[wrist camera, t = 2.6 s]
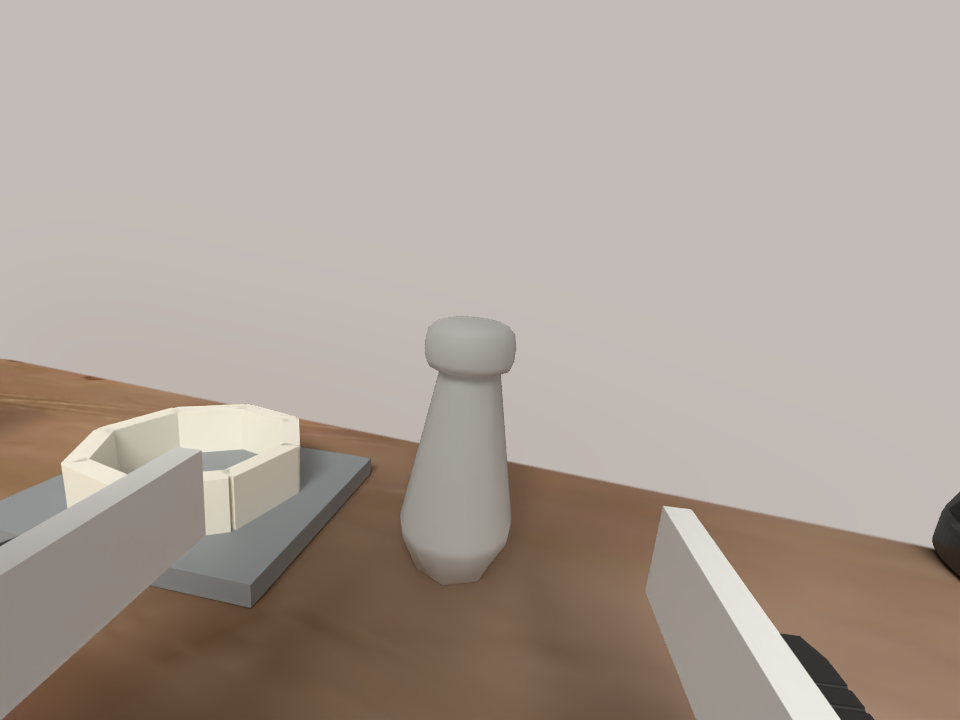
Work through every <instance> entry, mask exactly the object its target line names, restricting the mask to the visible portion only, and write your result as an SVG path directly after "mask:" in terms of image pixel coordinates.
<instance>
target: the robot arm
mask: <svg viewBox="0 0 960 720" xmlns="http://www.w3.org/2000/svg"><path fill="white" fill-rule="evenodd" d="M205 535H206V528H205V507H204V486H203V465H202V450H197V449H189V448H181V447H175V448H173V449H172V450H170V451H168V452H166V453H165V454H163V455H161V456H159V457H158V458H156V459H154V460H152V461H150V462H149V463H147V464H145V465H143V466H142V467H140V468H138V469H136V470H135V471H133V472H131V473H129V474H127V475H126V476H124V477H122V478H120V479H119V480H117V481H115V482H113V483H112V484H110V485H108V486H106V487H104V488H103V489H101V490H99V491H97V492H96V493H94V494H92V495H90V496H89V497H87V498H85V499H83V500H81V501H80V502H78V503H76V504H74V505H73V506H71V507H69V508H67V509H65V510H64V511H62V512H60V513H58V514H57V515H55V516H53V517H51V518H50V519H48V520H46V521H44V522H42V523H41V524H39V525H37V526H35V527H34V528H32V529H30V530H28V531H27V532H25V533H23V534H21V535H19V536H17V537H14V538H12V539H9V540H6V541H4V542H1V543H0V720H2V719H3V718H4V717H5V716H6V715H7V714H8V713H9V712H10V711H12V710H13V709H14V708H15V707H16V706H17V705H18V704H19V703H20V702H21V701H23V700H24V699H25V698H26V697H27V696H28V695H29V694H30V693H31V692H33V691H34V690H35V689H36V688H37V687H38V686H39V685H40V684H41V683H42V682H44V681H45V680H46V679H47V678H48V677H49V676H50V675H51V674H52V673H54V672H55V671H56V670H57V669H58V668H59V667H60V666H61V665H62V664H63V663H65V662H66V661H67V660H68V659H69V658H70V657H71V656H72V655H73V654H74V653H76V652H77V651H78V650H79V649H80V648H81V647H82V646H83V645H84V644H86V643H87V642H88V641H89V640H90V639H91V638H92V637H93V636H94V635H95V634H97V633H98V632H99V631H100V630H101V629H102V628H103V627H104V626H105V625H107V624H108V623H109V622H110V621H111V620H112V619H113V618H114V617H115V616H116V615H118V614H119V613H120V612H121V611H122V610H123V609H124V608H125V607H126V606H127V605H129V604H130V603H131V602H132V601H133V600H134V599H135V598H136V597H137V596H139V595H140V594H141V593H142V592H143V591H144V590H145V589H146V588H147V587H148V586H150V585H151V584H152V583H153V582H154V581H155V580H156V579H157V578H158V577H160V576H161V575H162V574H163V573H164V572H165V571H166V570H167V569H168V568H169V567H171V566H172V565H173V564H174V563H175V562H176V561H177V560H178V559H179V558H180V557H182V556H183V555H184V554H185V553H186V552H187V551H188V550H189V549H190V548H192V547H193V546H194V545H195V544H196V543H197V542H198V541H199V540H200V539H201V538H203V537H204V536H205ZM932 542H933V546H934V548H935V550H936V551H937V553H938V555H939V556H940V557H941V558H942V560H943V561H944V562H945V563H946V564H947V565H948V566H949V567H950V568H951V569H952V570H953V571H954V572H955V573H957V574H958V575H959V576H960V492H959V493H958V494H957V495H956V496H955V497H954V498H953V499H952V500H951V501H950V502H949V503H948V504H947V505H946V506H945V508H944V509H943V511H942V513H941V516H940V518H939V521H938V524H937V527H936V529H935V532H934V535H933V540H932ZM645 593H646V595H647V598H648V600H649V603H650V605H651V608H652V610H653V613H654V615H655V618H656V620H657V623H658V625H659V628H660V630H661V633H662V635H663V638H664V640H665V643H666V645H667V648H668V650H669V653H670V655H671V658H672V660H673V663H674V665H675V668H676V670H677V673H678V675H679V678H680V680H681V683H682V685H683V688H684V690H685V693H686V695H687V698H688V700H689V703H690V706H691V708H692V711H693V713H694V716H695V718H696V720H874V719H873V717H872V716H871V715H870V714H868V713H866V712H865V707H864V706H863V705H862V703H861V702H860V701H859V700H858V698H857V697H856V696H855V694H854V693H853V692H852V691H850V690H848V688H847V684H846V683H845V682H844V680H843V679H842V678H841V677H840V675H839V674H838V673H837V671H836V670H835V669H834V668H833V666H832V665H831V664H830V663H829V661H828V660H827V659H826V658H825V657H824V656H822V655H821V654H820V653H819V652H818V651H817V650H815V649H814V648H813V647H812V646H811V645H809V644H808V643H807V642H806V641H805V640H804V639H802V638H801V637H800V636H795V635H787V634H780V633H779V632H778V631H777V629H776V628H775V626H774V625H773V624H772V622H771V621H770V619H769V618H768V617H767V615H766V614H765V612H764V611H763V610H762V608H761V607H760V605H759V604H758V603H757V601H756V600H755V598H754V597H753V596H752V594H751V593H750V591H749V590H748V589H747V587H746V586H745V584H744V583H743V581H742V580H741V579H740V577H739V576H738V574H737V573H736V572H735V570H734V569H733V567H732V566H731V565H730V563H729V562H728V560H727V559H726V558H725V556H724V555H723V553H722V552H721V551H720V549H719V548H718V546H717V545H716V544H715V542H714V541H713V539H712V538H711V536H710V535H709V534H708V532H707V531H706V529H705V528H704V527H703V525H702V524H701V522H700V521H699V520H698V518H697V517H696V515H695V514H694V513H693V511H692V510H691V509H683V508H675V507H667V506H663V508H662V513H661V518H660V523H659V528H658V532H657V537H656V542H655V547H654V552H653V557H652V561H651V566H650V571H649V576H648V581H647V585H646V590H645Z"/></svg>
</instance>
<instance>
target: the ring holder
mask: <svg viewBox="0 0 960 720" xmlns="http://www.w3.org/2000/svg"><path fill="white" fill-rule="evenodd" d="M175 447H181V448H189V449H197V450H202V452H214V451H227V450H240V449H244V450H247V451H250V452H253V453H256V454H258V455H256V456H254V457H252V458H249V459H247V460H245V461H243V462H240V463H238V464H236V465H234V466H231V467H229V468H227V469H225V470H216V471H205V472H203V486H204V507H205V528H206V535H212V534H220V533H227V532H231V529H234V530H237V529H239V528H240V527H242V526H244V525H246V524H247V523H249V522H251V521H252V520H254V519H256V518H257V517H259V516H261V515H262V514H264V513H266V512H267V511H269V510H271V509H272V508H274V507H276V506H277V505H279V504H281V503H282V502H284V501H286V500H287V499H289V498H291V497H292V496H294V495H296V494H297V493H299V491H300V436H299V418H297V417H295V416H291V415H288V414H284V413H280V412H277V411H273V410H269V409H265V408H262V407H259V406H255V405H251V404H250V405H247V404H236V405H213V406H190V407H176V408H175V409H174V408H169V409H165V410H162V411H158V412H155V413H151V414H147V415H144V416H140V417H137V418H133V419H129V420H126V421H122V422H119V423H115V424H111V425H108V426H104V427H100V428H98V430H94V431H93V432H92V433H91V434H90V435H89V436H88V437H87V438H86V439H85V440H84V441H83V442H82V443H81V444H80V445H79V446H78V447H77V448H76V449H75V450H74V451H73V452H72V453H71V454H70V455H69V456H68V457H67V458H66V459H65V460H64V461H63V462H62V463H61V466H62V473H63V480H64V487H65V494H66V501H67V508H69V507H71V506H73V505H74V504H76V503H78V502H80V501H81V500H83V499H85V498H87V497H89V496H90V495H92V494H94V493H96V492H97V491H99V490H101V489H103V488H104V487H106V486H108V485H110V484H112V483H113V482H115V481H117V480H119V479H120V478H122V477H124V476H126V475H127V474H129V473H131V472H133V471H135V470H136V469H138V468H140V467H142V466H143V465H145V464H147V463H149V462H150V461H152V460H154V459H156V458H158V457H159V456H161V455H163V454H165V453H166V452H168V451H170V450H172V449H173V448H175Z"/></svg>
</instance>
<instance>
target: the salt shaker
mask: <svg viewBox="0 0 960 720" xmlns="http://www.w3.org/2000/svg"><path fill="white" fill-rule="evenodd" d="M515 352H516V341H515V334H514V333H513V331H512V330H511V329H510V328H509V327H508V326H507V325H505V324H503V323H501V322H498V321H495V320H491V319H485V318H479V317H464V316H459V317H458V316H456V317H448V318H443V319H439V320H437V321H436V322H434V323H433V324H432V325H431V326H430V327H429V328H428V331H427V336H426V340H425V355H426V359H427V362H428V364H429V366H430V367H432V368H434V369H436V370H438V371H439V374H438V377H437V381H436V385H435V388H434V392H433V396H432V399H431V403H430V407H429V410H428V414H427V418H426V422H425V426H424V429H423V432H422V436H421V440H420V443H419V447H418V451H417V454H416V458H415V462H414V466H413V469H412V473H411V477H410V480H409V484H408V488H407V491H406V495H405V499H404V502H403V506H402V510H401V513H400V517H401V526H402V534H403V540H404V542H405V544H406V546H407V549H408V551H409V553H410V556H411V558H412V560H413V562H414V565H415V567H416V568H417V569H418V570H420V571H421V572H423V573H424V574H426V575H427V576H429V577H430V578H432V579H433V580H435V581H436V582H438V583H439V584H441V585H451V584H460V583H470V582H478V580H479V579H480V577H481V576H482V575H483V573H484V572H485V570H486V569H487V568H488V566H489V565H490V564H491V563H492V561H493V560H494V559H495V557H496V556H497V555H498V554H499V552H500V551H501V550H502V548H503V547H504V546H505V544H506V540H507V537H508V533H509V529H510V525H511V509H510V495H509V481H508V468H507V456H506V455H507V454H506V440H505V426H504V413H503V399H502V385H501V374H504V373H507V372H508V371H509V370H510V369H511V367H512V365H513V363H514V358H515Z"/></svg>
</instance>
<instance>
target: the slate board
mask: <svg viewBox="0 0 960 720" xmlns="http://www.w3.org/2000/svg"><path fill="white" fill-rule="evenodd" d="M256 455H258V454H256V453H253V452H250V451H247V450H244V449H240V450H227V451H214V452H202V465H203V472H205V471H216V470H225V469H227V468H229V467H231V466H234V465H236V464H238V463H240V462H243V461H245V460H247V459H249V458H252V457H254V456H256ZM370 470H371V458H366V457H360V456H354V455H348V454H341V453H335V452H329V451H323V450H317V449H311V448H305V447H300V491H299V493H297V494H296V495H294V496H292V497H291V498H289V499H287V500H286V501H284V502H282V503H281V504H279V505H277V506H276V507H274V508H272V509H271V510H269V511H267V512H266V513H264V514H262V515H261V516H259V517H257V518H256V519H254V520H252V521H251V522H249V523H247V524H246V525H244V526H242V527H240V528H239V529H237V530H234V529H231V532H227V533H220V534H212V535H205V536H204V537H203V538H201V539H200V540H199V541H198V542H197V543H196V544H195V545H194V546H193V547H192V548H190V549H189V550H188V551H187V552H186V553H185V554H184V555H183V556H182V557H180V558H179V559H178V560H177V561H176V562H175V563H174V564H173V565H172V566H171V567H169V568H168V569H167V570H166V571H165V572H164V573H163V574H162V575H161V576H160V577H158V578H157V579H156V580H155V581H154V582H153V583H152V584H151V585H150V586H155V587H159V588H164V589H168V590H173V591H177V592H182V593H186V594H191V595H195V596H199V597H204V598H208V599H213V600H217V601H222V602H226V603H231V604H235V605H240V606H244V607H249V608H252V607H253V606H254V604H255V603H256V602H257V601H258V600H259V599H260V598H261V596H262V595H263V594H264V593H265V592H266V591H267V590H268V589H269V587H270V586H271V585H272V584H273V583H274V582H275V581H276V580H277V578H278V577H279V576H280V575H281V574H282V573H283V572H284V571H285V569H286V568H287V567H288V566H289V565H290V564H291V563H292V562H293V560H294V559H295V558H296V557H297V556H298V555H299V554H300V552H301V551H302V550H303V549H304V548H305V547H306V546H307V545H308V543H309V542H310V541H311V540H312V539H313V538H314V537H315V536H316V534H317V533H318V532H319V531H320V530H321V529H322V528H323V527H324V525H325V524H326V523H327V522H328V521H329V520H330V519H331V518H332V516H333V515H334V514H335V513H336V512H337V511H338V510H339V508H340V507H341V506H342V505H343V504H344V503H345V502H346V501H347V499H348V498H349V497H350V496H351V495H352V494H353V493H354V492H355V490H356V489H357V488H358V487H359V486H360V485H361V484H362V483H363V481H364V480H365V479H366V478H367V477H368V476H369V475H370ZM65 509H67V501H66V494H65V487H64V480H63V474H61V475H58V476H56V477H54V478H52V479H49V480H47V481H45V482H42V483H40V484H38V485H35V486H33V487H31V488H28V489H26V490H24V491H21V492H19V493H17V494H15V495H12V496H10V497H8V498H5V499H3V500H1V501H0V543H1V542H4V541H6V540H9V539H12V538H14V537H17V536H19V535H21V534H23V533H25V532H27V531H28V530H30V529H32V528H34V527H35V526H37V525H39V524H41V523H42V522H44V521H46V520H48V519H50V518H51V517H53V516H55V515H57V514H58V513H60V512H62V511H64V510H65Z"/></svg>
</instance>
